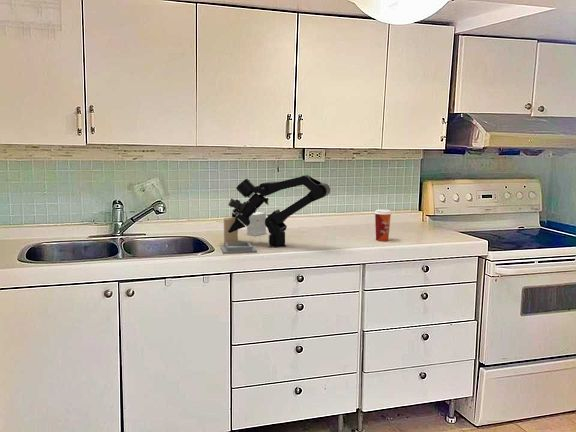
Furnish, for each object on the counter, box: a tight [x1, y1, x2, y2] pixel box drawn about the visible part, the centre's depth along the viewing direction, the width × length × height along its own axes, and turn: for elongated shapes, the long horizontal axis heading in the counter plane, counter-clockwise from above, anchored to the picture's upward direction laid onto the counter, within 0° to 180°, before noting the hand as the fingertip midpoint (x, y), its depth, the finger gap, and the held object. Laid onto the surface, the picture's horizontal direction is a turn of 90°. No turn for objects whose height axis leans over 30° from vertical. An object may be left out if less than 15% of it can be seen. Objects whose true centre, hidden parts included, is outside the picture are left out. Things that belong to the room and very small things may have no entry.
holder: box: [220, 241, 258, 255], centre depth 239 cm, size 14×12×2 cm
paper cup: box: [374, 208, 392, 242], centre depth 261 cm, size 8×8×14 cm
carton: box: [223, 216, 239, 246], centre depth 249 cm, size 6×6×12 cm
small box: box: [246, 211, 267, 237], centre depth 274 cm, size 8×6×10 cm
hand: (227, 230), depth 248 cm, fingers open, 9 cm apart
